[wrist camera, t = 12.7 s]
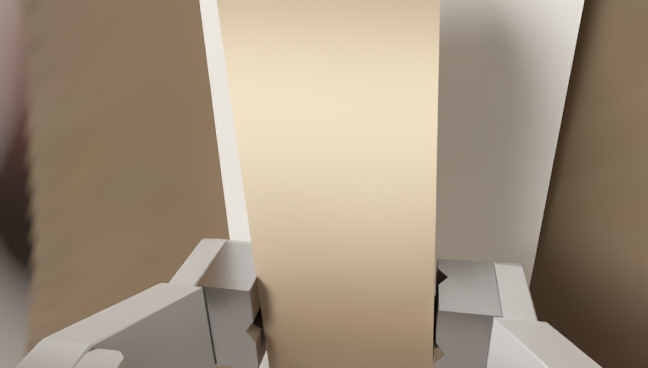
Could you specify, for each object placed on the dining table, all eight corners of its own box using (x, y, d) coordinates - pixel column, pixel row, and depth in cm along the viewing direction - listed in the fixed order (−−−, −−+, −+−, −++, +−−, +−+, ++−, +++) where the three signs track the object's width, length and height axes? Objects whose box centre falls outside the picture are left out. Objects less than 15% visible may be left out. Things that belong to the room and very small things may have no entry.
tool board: (186, -246, 11) (166, -260, 11) (625, -288, 10) (643, -310, 9) (267, 456, 22) (260, 478, 21) (482, 492, 21) (485, 518, 20)
